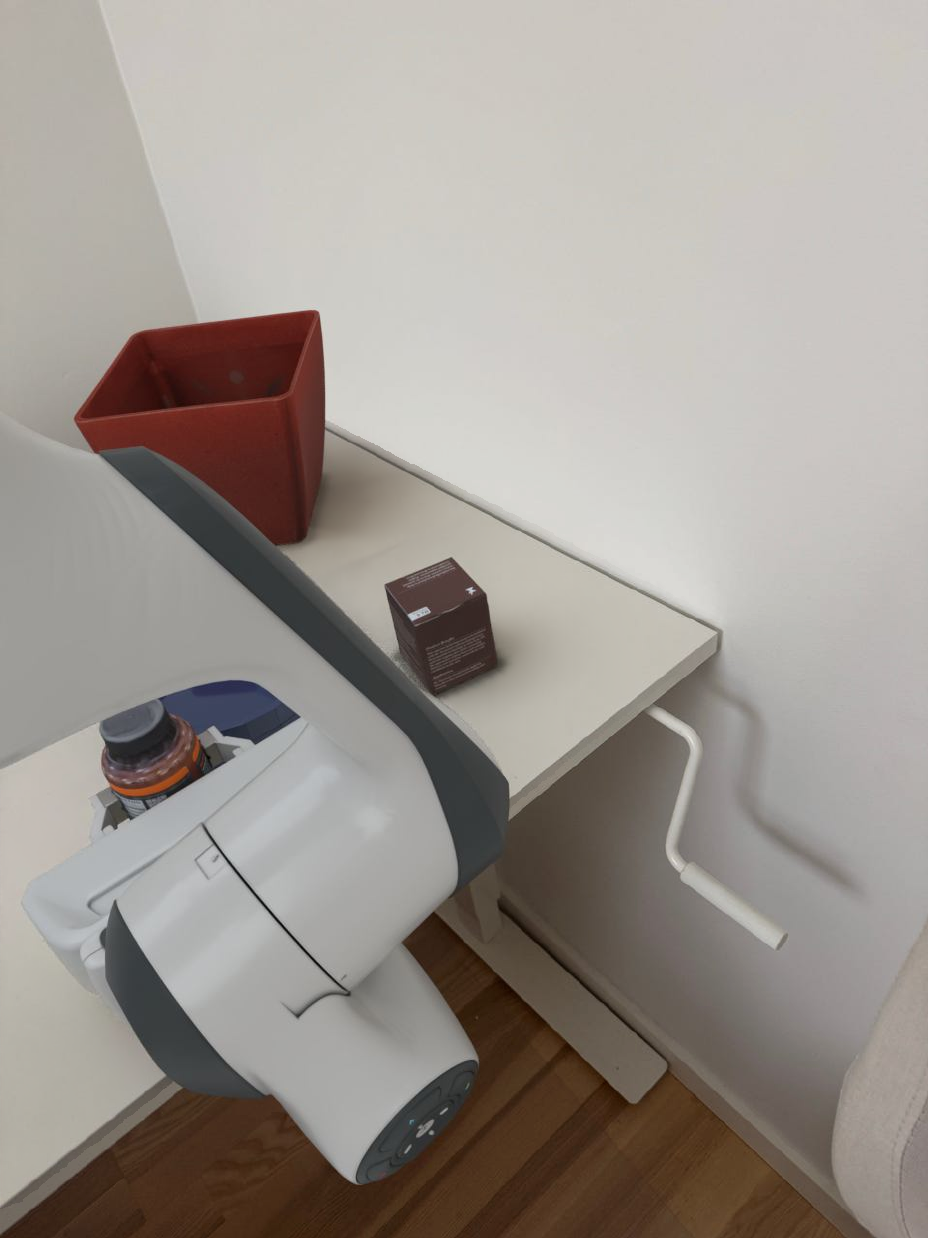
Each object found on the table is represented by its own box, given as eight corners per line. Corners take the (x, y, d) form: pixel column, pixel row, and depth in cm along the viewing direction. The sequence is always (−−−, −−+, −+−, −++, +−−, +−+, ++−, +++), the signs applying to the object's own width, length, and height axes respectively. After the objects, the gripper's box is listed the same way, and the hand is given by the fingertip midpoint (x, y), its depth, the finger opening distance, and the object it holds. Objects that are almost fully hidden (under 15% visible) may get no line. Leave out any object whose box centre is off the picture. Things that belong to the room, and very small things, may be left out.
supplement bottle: (206, 787, 68) (151, 668, 61) (252, 829, 64) (200, 708, 57) (132, 840, 65) (65, 722, 58) (176, 887, 61) (111, 768, 54)
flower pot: (334, 560, 89) (289, 394, 78) (137, 580, 91) (68, 420, 80) (356, 458, 104) (320, 306, 93) (187, 477, 106) (133, 330, 95)
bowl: (250, 803, 67) (233, 764, 64) (75, 738, 75) (55, 701, 72) (382, 646, 78) (372, 608, 76) (218, 604, 86) (205, 568, 83)
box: (466, 627, 79) (453, 554, 74) (500, 667, 74) (489, 593, 70) (399, 655, 77) (381, 583, 72) (429, 698, 72) (413, 624, 68)
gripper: (398, 761, 54) (281, 652, 64) (56, 988, 46) (-22, 824, 55) (417, 831, 58) (304, 719, 68) (105, 1052, 50) (24, 890, 59)
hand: (155, 768), depth 61 cm, fingers closed on supplement bottle, 6 cm apart
